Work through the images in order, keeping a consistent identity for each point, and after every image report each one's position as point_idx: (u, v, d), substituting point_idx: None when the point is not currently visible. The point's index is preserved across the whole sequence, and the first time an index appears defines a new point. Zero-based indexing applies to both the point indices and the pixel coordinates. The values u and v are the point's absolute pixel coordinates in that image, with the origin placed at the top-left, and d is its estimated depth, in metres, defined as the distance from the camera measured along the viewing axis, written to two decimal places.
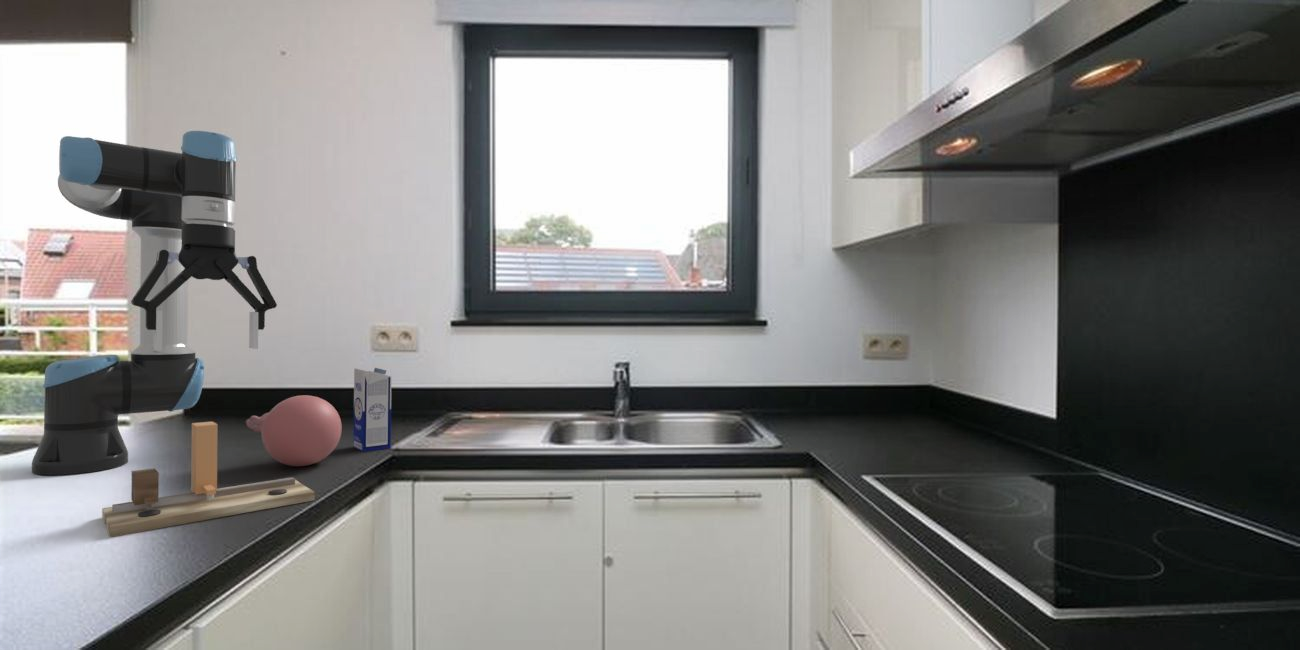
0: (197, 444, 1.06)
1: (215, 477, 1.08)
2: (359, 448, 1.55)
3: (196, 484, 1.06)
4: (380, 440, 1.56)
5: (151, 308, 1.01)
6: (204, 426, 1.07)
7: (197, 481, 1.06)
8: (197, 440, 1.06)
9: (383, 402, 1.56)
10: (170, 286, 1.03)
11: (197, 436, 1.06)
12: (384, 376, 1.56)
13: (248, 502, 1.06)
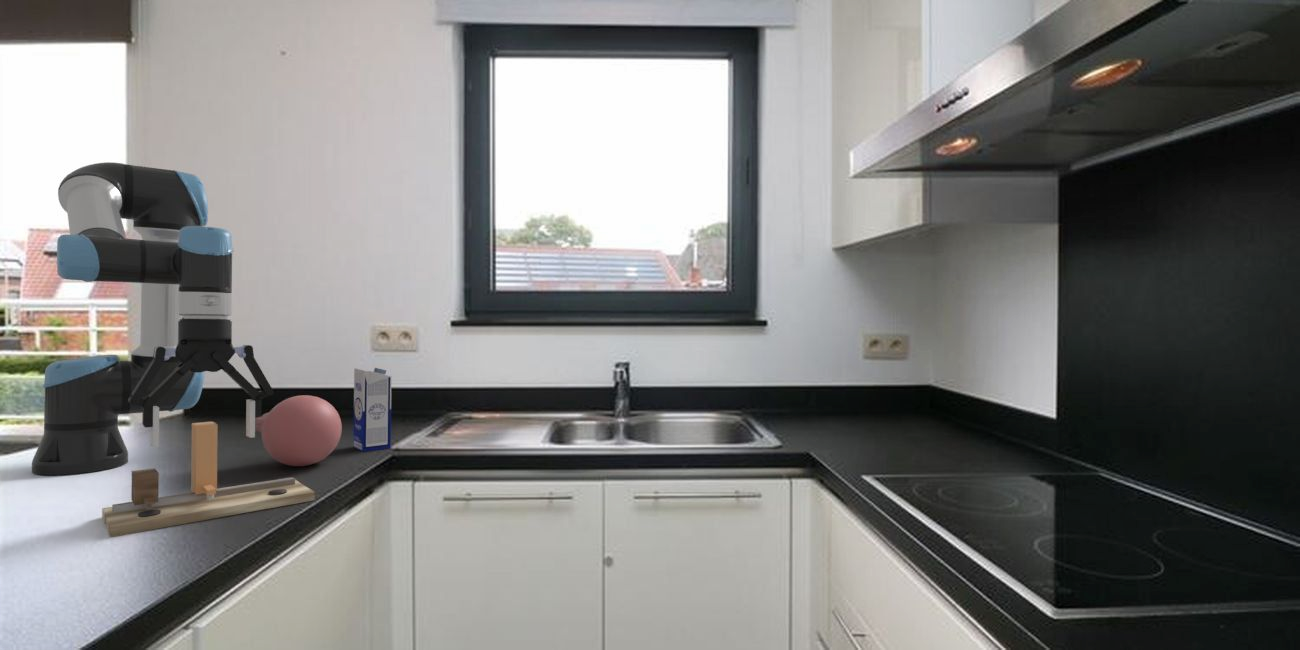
0: (197, 444, 1.06)
1: (215, 477, 1.08)
2: (359, 448, 1.55)
3: (196, 484, 1.06)
4: (380, 440, 1.56)
5: (148, 406, 1.02)
6: (204, 426, 1.07)
7: (197, 481, 1.06)
8: (197, 440, 1.06)
9: (383, 402, 1.56)
10: (167, 382, 1.04)
11: (197, 436, 1.06)
12: (384, 376, 1.56)
13: (248, 502, 1.06)
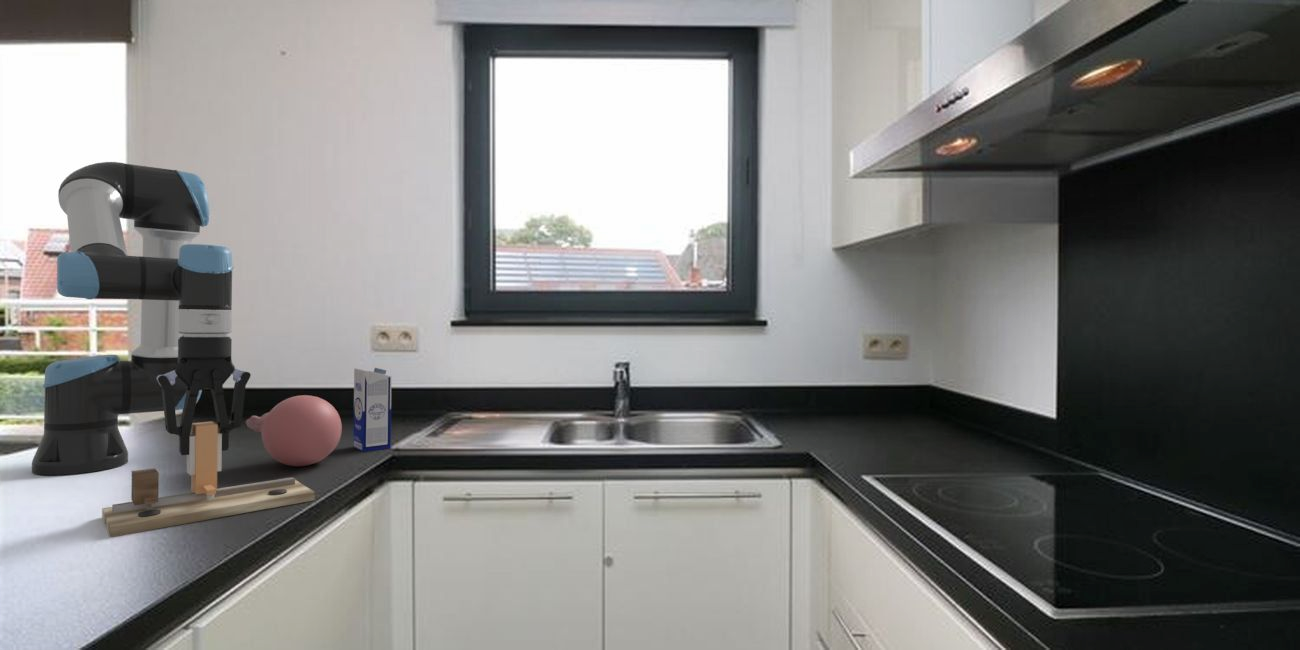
0: (197, 444, 1.06)
1: (215, 477, 1.08)
2: (359, 448, 1.55)
3: (196, 484, 1.06)
4: (380, 440, 1.56)
5: (186, 435, 1.06)
6: (204, 426, 1.07)
7: (197, 481, 1.06)
8: (197, 440, 1.06)
9: (383, 402, 1.56)
10: (188, 408, 1.06)
11: (197, 436, 1.06)
12: (384, 376, 1.56)
13: (248, 502, 1.06)
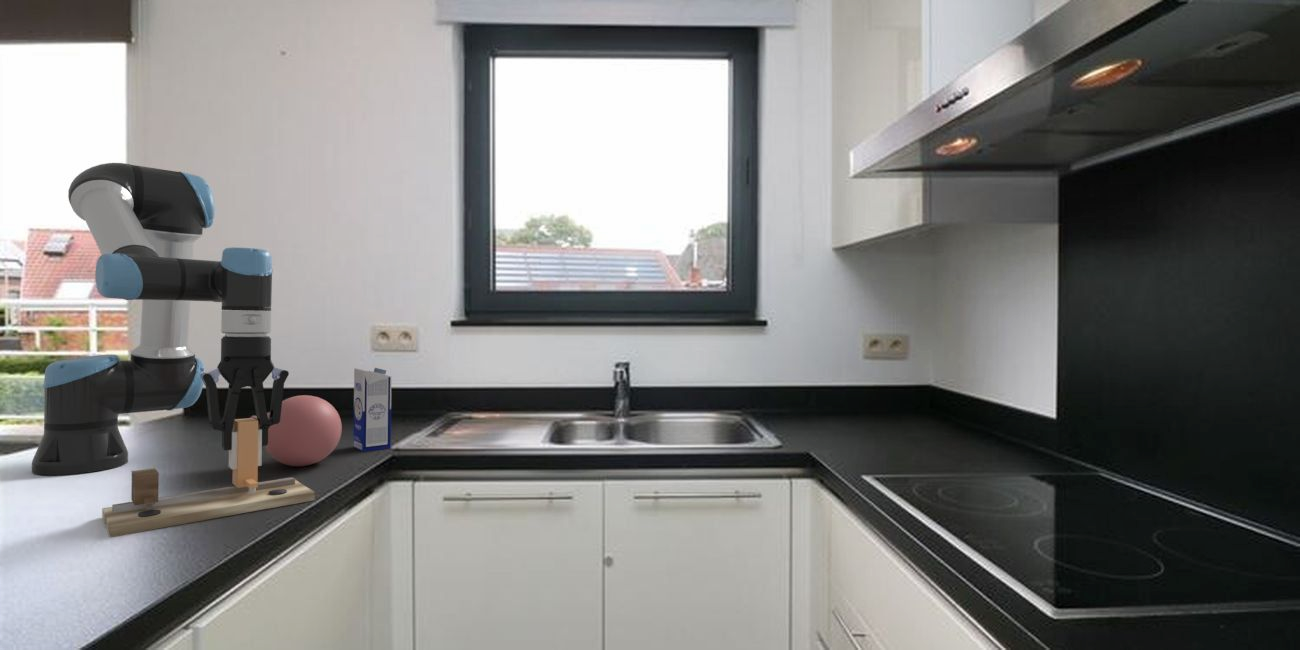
0: (239, 439, 1.10)
1: (256, 471, 1.12)
2: (359, 448, 1.55)
3: (238, 478, 1.11)
4: (380, 440, 1.56)
5: (229, 430, 1.10)
6: (246, 422, 1.11)
7: (239, 475, 1.11)
8: (239, 436, 1.10)
9: (383, 402, 1.56)
10: (230, 405, 1.10)
11: (239, 432, 1.10)
12: (384, 376, 1.56)
13: (248, 502, 1.06)
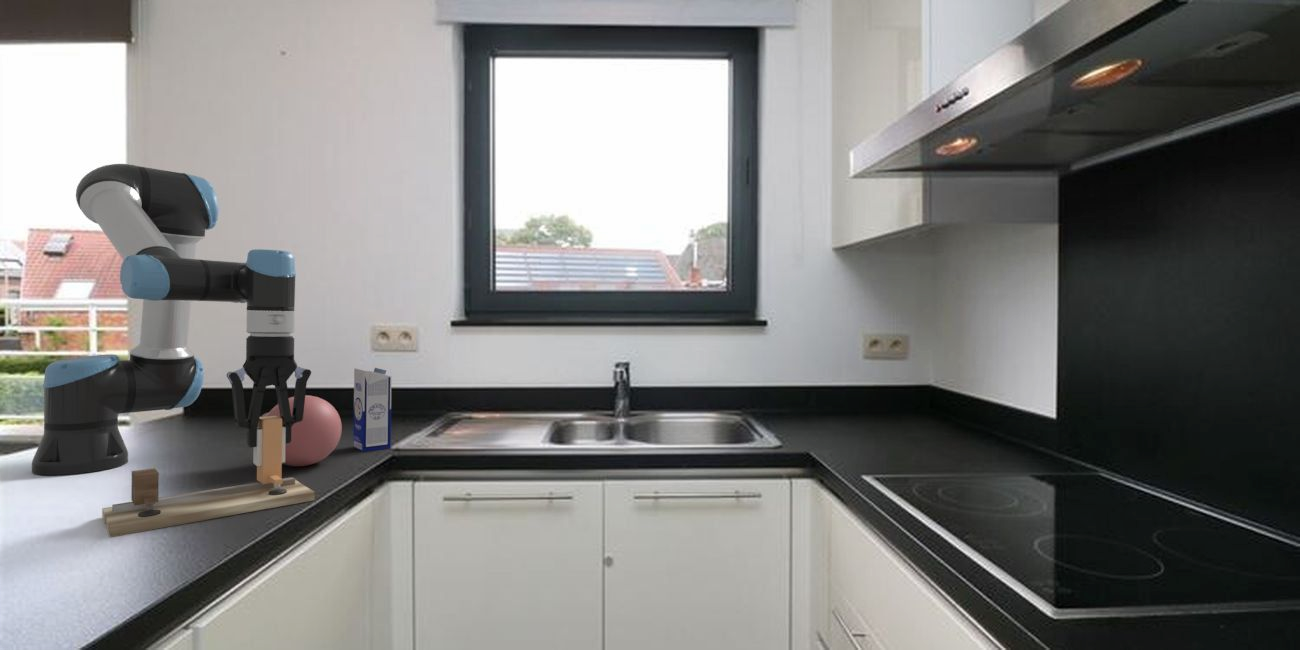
0: (264, 437, 1.13)
1: (280, 468, 1.15)
2: (359, 448, 1.55)
3: (263, 474, 1.13)
4: (380, 440, 1.56)
5: (254, 428, 1.13)
6: (270, 420, 1.14)
7: (264, 471, 1.13)
8: (264, 433, 1.13)
9: (383, 402, 1.56)
10: (256, 403, 1.13)
11: (264, 429, 1.13)
12: (384, 376, 1.56)
13: (248, 502, 1.06)
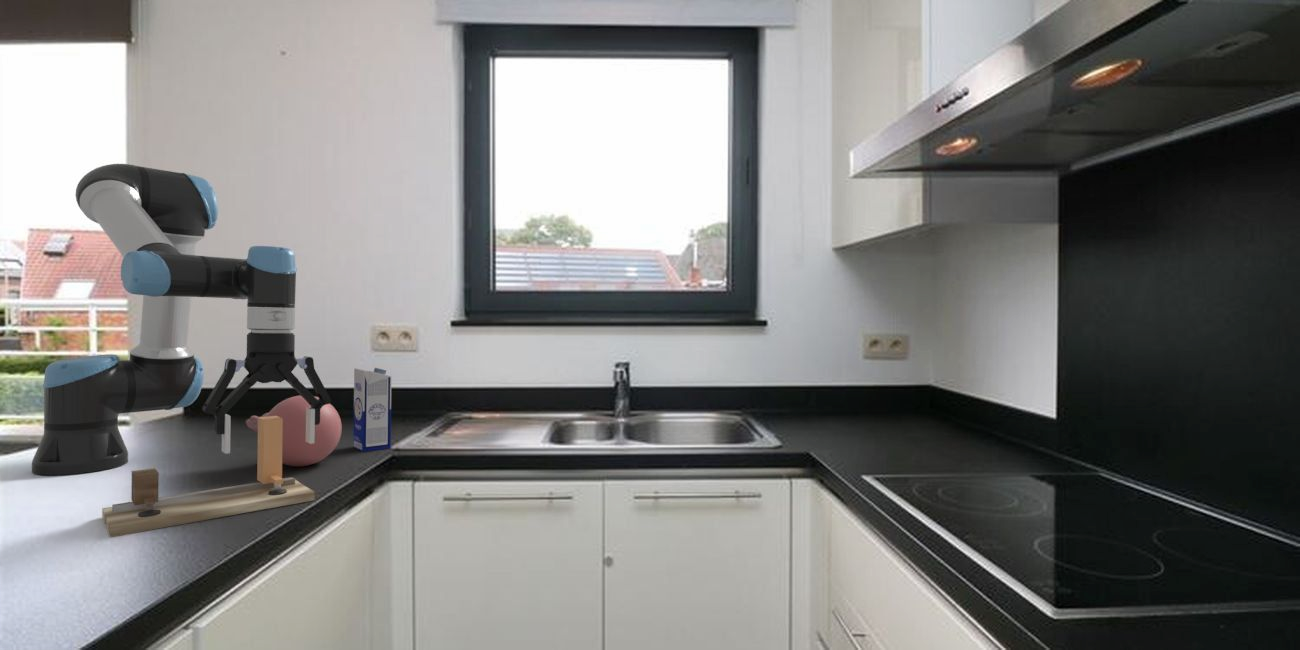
0: (264, 437, 1.13)
1: (280, 468, 1.15)
2: (359, 448, 1.55)
3: (263, 474, 1.13)
4: (380, 440, 1.56)
5: (221, 415, 1.09)
6: (271, 420, 1.14)
7: (264, 471, 1.13)
8: (264, 433, 1.13)
9: (383, 402, 1.56)
10: (237, 392, 1.11)
11: (264, 429, 1.13)
12: (384, 376, 1.56)
13: (248, 502, 1.06)
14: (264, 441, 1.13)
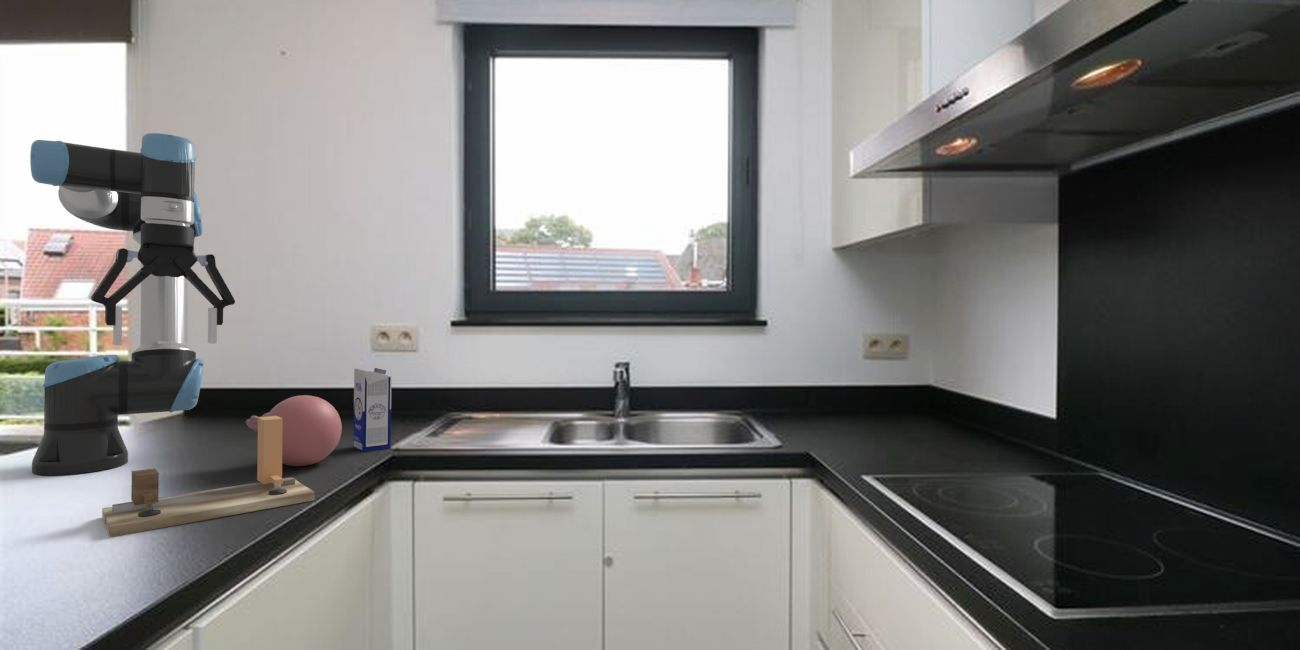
0: (264, 437, 1.13)
1: (280, 468, 1.15)
2: (359, 448, 1.55)
3: (263, 474, 1.13)
4: (380, 440, 1.56)
5: (111, 304, 1.06)
6: (271, 420, 1.14)
7: (264, 471, 1.13)
8: (264, 433, 1.13)
9: (383, 402, 1.56)
10: (129, 283, 1.07)
11: (264, 429, 1.13)
12: (384, 376, 1.56)
13: (248, 502, 1.06)
14: (264, 441, 1.13)
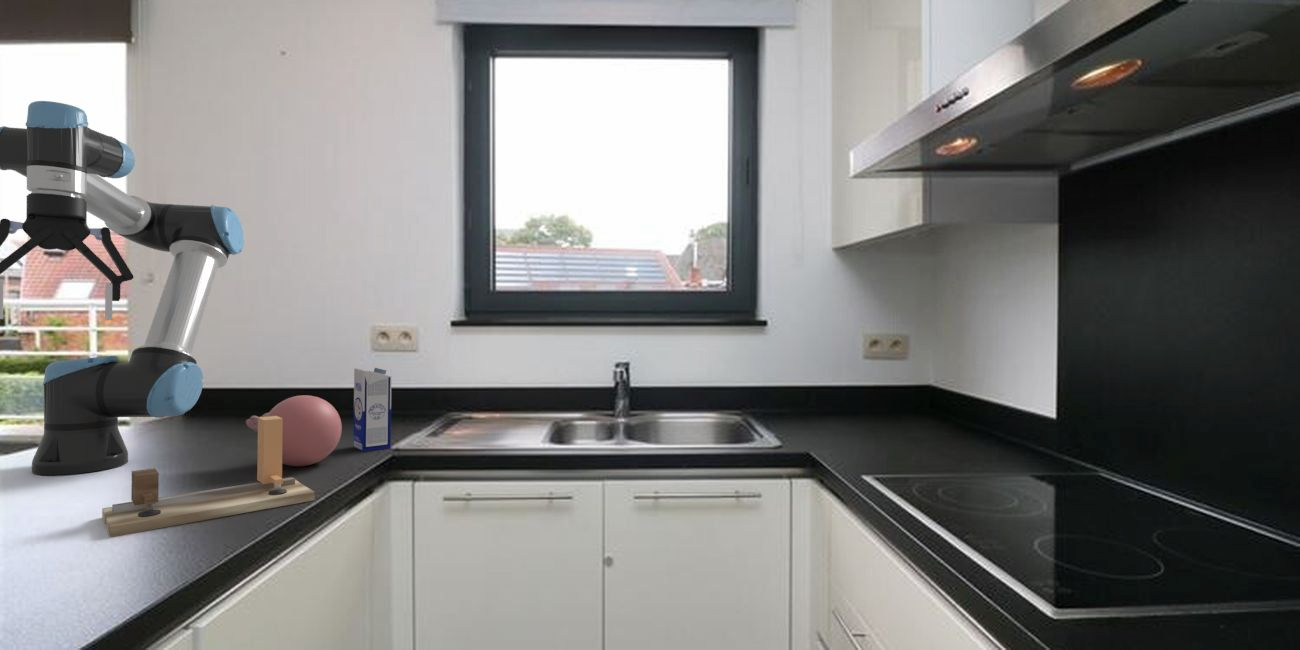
0: (264, 437, 1.13)
1: (280, 468, 1.15)
2: (359, 448, 1.55)
3: (263, 474, 1.13)
4: (380, 440, 1.56)
5: None
6: (271, 420, 1.14)
7: (264, 471, 1.13)
8: (264, 433, 1.13)
9: (383, 402, 1.56)
10: (12, 255, 1.04)
11: (264, 429, 1.13)
12: (384, 376, 1.56)
13: (248, 502, 1.06)
14: (264, 441, 1.13)
